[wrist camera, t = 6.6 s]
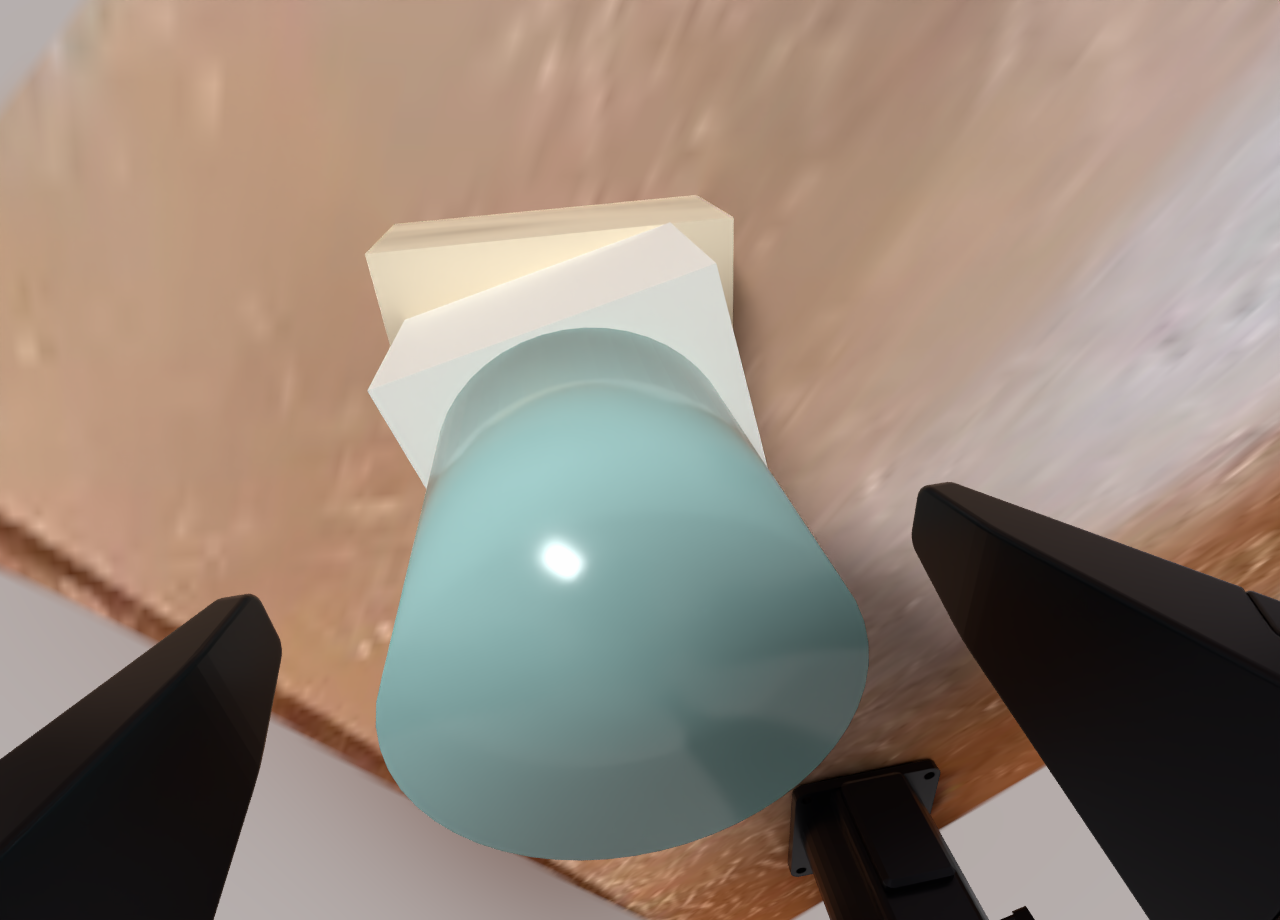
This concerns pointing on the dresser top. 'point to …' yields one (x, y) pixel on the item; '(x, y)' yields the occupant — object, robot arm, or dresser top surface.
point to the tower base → (524, 249)
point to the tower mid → (558, 300)
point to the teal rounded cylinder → (609, 612)
